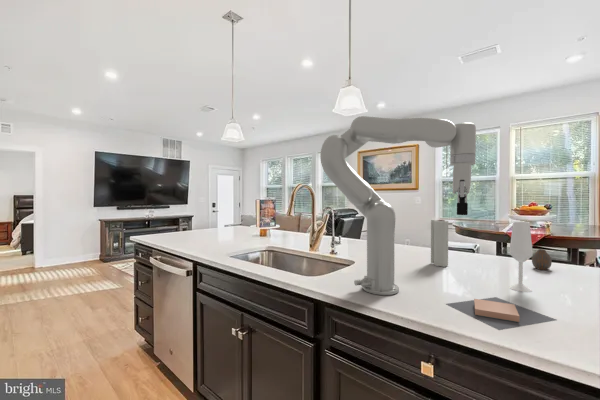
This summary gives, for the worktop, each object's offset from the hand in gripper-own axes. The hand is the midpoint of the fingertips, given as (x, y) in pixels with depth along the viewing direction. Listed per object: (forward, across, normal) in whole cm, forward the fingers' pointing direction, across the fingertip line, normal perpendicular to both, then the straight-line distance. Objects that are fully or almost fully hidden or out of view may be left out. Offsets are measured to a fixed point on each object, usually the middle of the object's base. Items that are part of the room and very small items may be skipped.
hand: (462, 214), depth 101 cm
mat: (+27, +13, +9) cm, 32 cm away
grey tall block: (+27, -40, -9) cm, 50 cm away
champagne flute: (+27, -16, +18) cm, 36 cm away
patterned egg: (+27, -54, +31) cm, 68 cm away
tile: (+26, +11, +8) cm, 29 cm away
